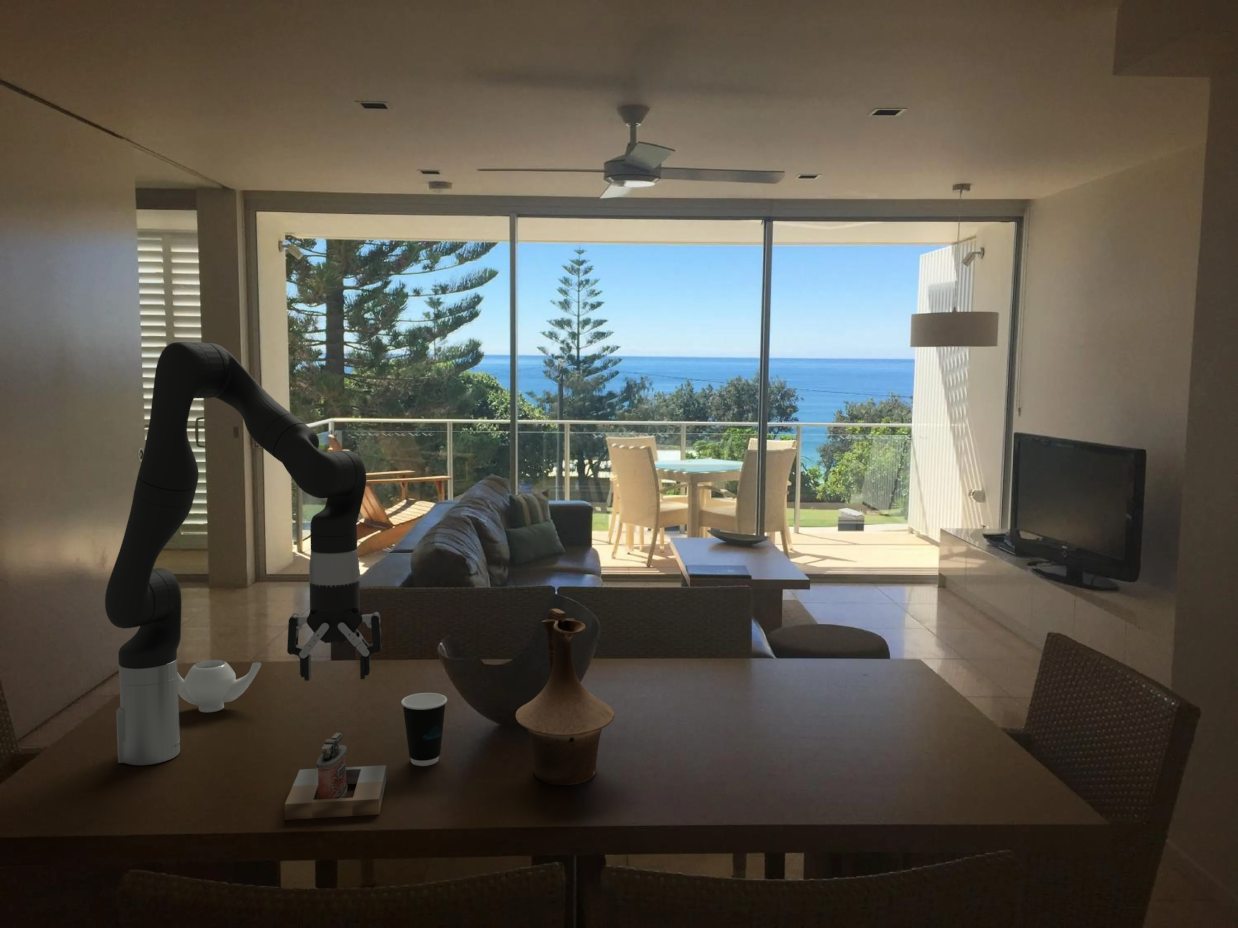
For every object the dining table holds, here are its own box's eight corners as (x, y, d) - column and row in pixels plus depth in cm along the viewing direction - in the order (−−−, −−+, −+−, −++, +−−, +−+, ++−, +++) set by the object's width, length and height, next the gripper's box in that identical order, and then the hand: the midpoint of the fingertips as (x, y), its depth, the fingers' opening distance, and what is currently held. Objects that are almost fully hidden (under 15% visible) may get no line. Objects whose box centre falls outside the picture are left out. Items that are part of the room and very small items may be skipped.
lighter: (333, 811, 151) (332, 749, 150) (312, 810, 151) (311, 748, 150) (351, 789, 159) (350, 730, 158) (331, 788, 159) (330, 729, 158)
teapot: (168, 701, 200) (167, 657, 199) (268, 699, 202) (267, 656, 201) (150, 718, 190) (149, 672, 189) (255, 715, 192) (254, 670, 191)
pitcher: (502, 760, 171) (502, 605, 169) (591, 746, 178) (592, 597, 176) (533, 800, 155) (533, 630, 153) (630, 783, 162) (632, 620, 159)
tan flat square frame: (285, 819, 148) (284, 803, 148) (300, 783, 161) (299, 769, 160) (379, 814, 150) (378, 798, 150) (386, 779, 163) (386, 765, 163)
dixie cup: (436, 771, 166) (436, 709, 165) (394, 766, 168) (393, 705, 167) (454, 753, 174) (454, 694, 173) (413, 749, 176) (413, 690, 175)
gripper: (282, 584, 147) (284, 687, 149) (378, 582, 149) (379, 684, 151) (291, 573, 155) (293, 672, 156) (383, 572, 157) (384, 669, 158)
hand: (335, 678), depth 154 cm, fingers open, 8 cm apart
